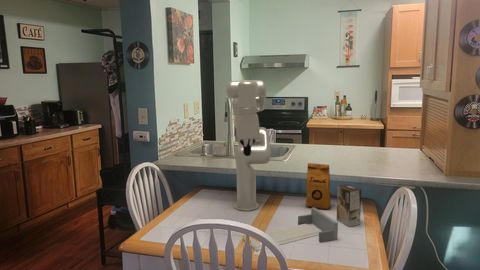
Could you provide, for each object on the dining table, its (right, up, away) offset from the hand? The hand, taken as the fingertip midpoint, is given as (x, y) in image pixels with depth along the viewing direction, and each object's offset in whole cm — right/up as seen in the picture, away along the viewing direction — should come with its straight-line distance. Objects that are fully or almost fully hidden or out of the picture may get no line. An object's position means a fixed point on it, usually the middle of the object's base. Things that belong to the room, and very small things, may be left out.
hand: (247, 155), depth 152 cm
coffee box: (+45, -31, +10) cm, 55 cm away
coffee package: (+36, -28, +30) cm, 54 cm away
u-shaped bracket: (+28, -32, 0) cm, 43 cm away
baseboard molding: (+15, -34, -5) cm, 38 cm away
